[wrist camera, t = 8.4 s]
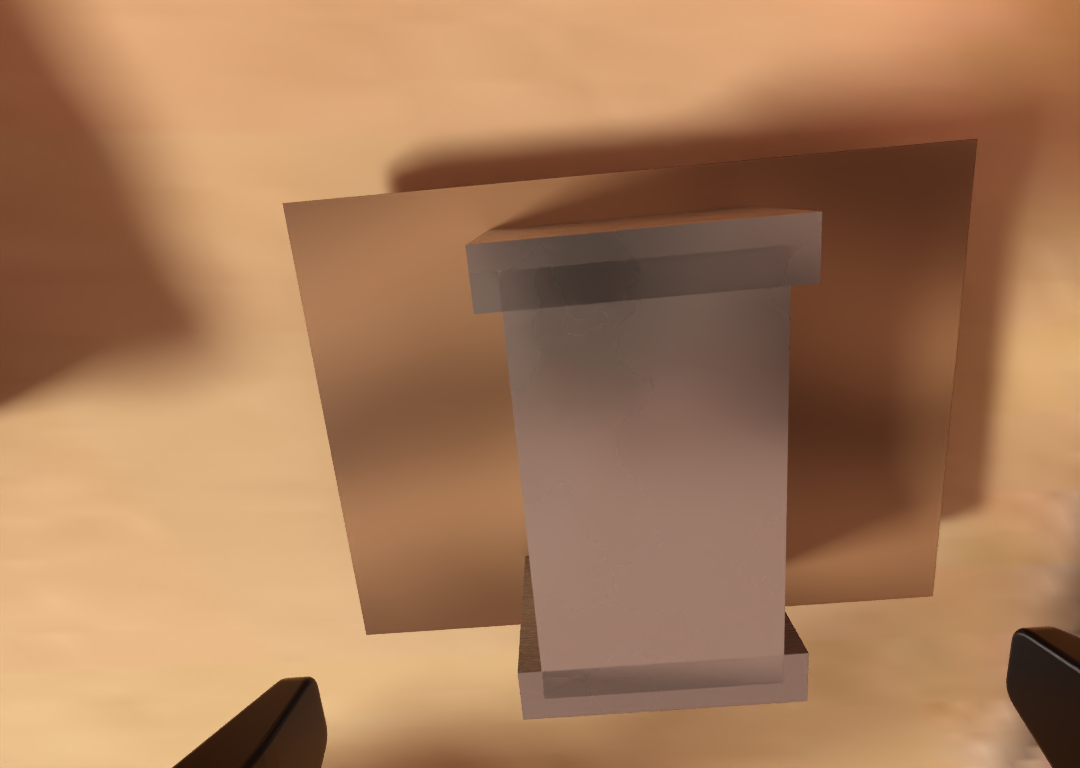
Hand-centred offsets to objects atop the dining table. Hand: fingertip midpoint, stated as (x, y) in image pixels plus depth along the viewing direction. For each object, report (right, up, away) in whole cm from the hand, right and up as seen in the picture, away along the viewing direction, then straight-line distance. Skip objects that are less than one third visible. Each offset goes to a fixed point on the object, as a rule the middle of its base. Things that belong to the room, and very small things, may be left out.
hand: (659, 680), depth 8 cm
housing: (+1, +3, +8) cm, 9 cm away
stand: (+1, +4, +11) cm, 12 cm away
